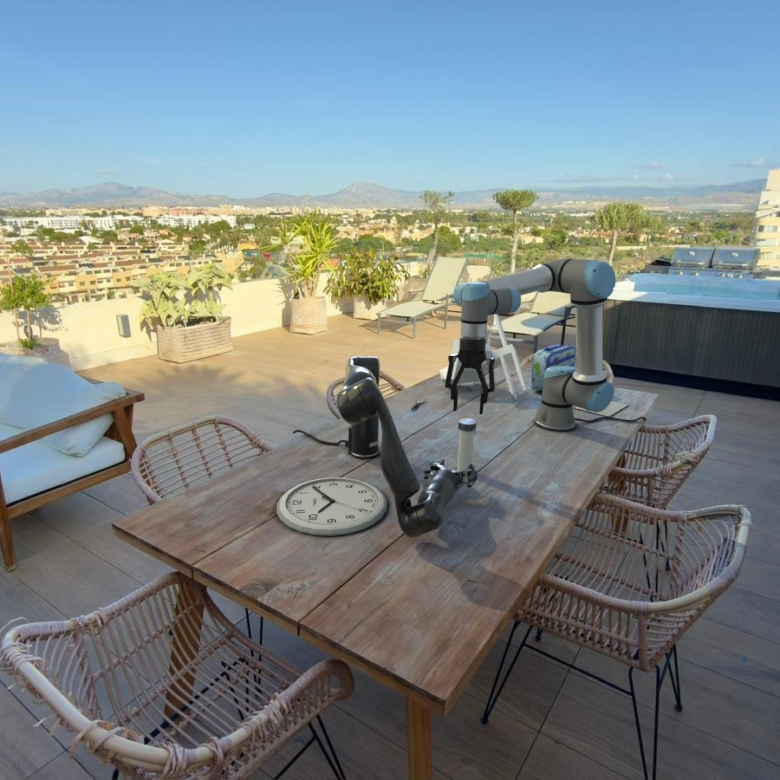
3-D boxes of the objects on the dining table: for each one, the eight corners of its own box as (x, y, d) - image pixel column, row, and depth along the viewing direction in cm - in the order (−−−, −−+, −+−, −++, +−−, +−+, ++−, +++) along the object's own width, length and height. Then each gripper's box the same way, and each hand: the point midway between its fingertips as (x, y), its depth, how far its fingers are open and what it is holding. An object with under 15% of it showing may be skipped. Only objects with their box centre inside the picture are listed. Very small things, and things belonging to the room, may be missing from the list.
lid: (465, 423, 163) (465, 416, 163) (479, 428, 160) (479, 421, 159) (454, 428, 160) (455, 421, 159) (469, 432, 156) (469, 425, 155)
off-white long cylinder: (462, 467, 167) (465, 419, 162) (474, 471, 164) (477, 422, 159) (454, 471, 164) (457, 422, 159) (465, 476, 161) (468, 426, 156)
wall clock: (392, 527, 129) (268, 531, 127) (391, 533, 130) (269, 537, 127) (383, 473, 158) (282, 475, 155) (383, 478, 158) (282, 480, 156)
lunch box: (547, 397, 237) (552, 352, 231) (526, 391, 245) (531, 348, 238) (574, 386, 255) (580, 344, 249) (554, 381, 262) (559, 340, 256)
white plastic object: (461, 429, 252) (437, 405, 227) (444, 352, 274) (420, 323, 250) (535, 404, 240) (518, 377, 215) (510, 326, 262) (492, 293, 237)
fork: (408, 410, 217) (408, 406, 216) (419, 399, 231) (419, 395, 230) (414, 411, 216) (414, 407, 215) (425, 400, 230) (425, 396, 230)
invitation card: (608, 416, 214) (573, 407, 224) (608, 416, 214) (573, 408, 224) (628, 404, 229) (594, 396, 238) (628, 405, 229) (594, 397, 238)
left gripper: (468, 481, 135) (481, 456, 150) (416, 470, 140) (434, 448, 155) (466, 506, 137) (480, 480, 152) (415, 495, 143) (433, 471, 157)
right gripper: (509, 336, 152) (503, 411, 159) (441, 331, 157) (438, 403, 164) (507, 342, 145) (500, 419, 152) (436, 336, 151) (432, 411, 157)
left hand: (456, 464), depth 153 cm, fingers open, 8 cm apart
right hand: (468, 411), depth 158 cm, fingers open, 7 cm apart
